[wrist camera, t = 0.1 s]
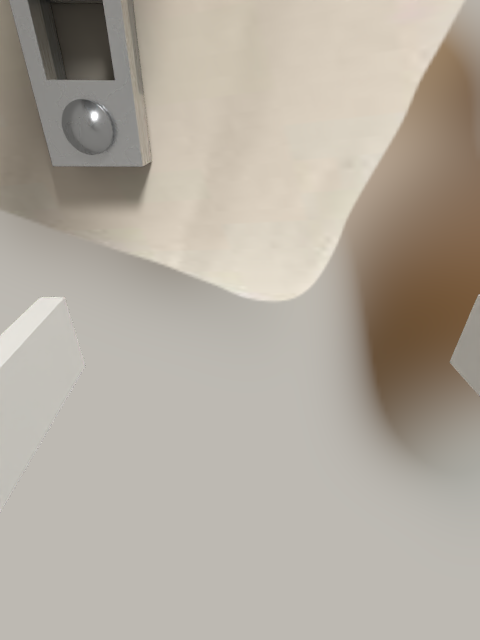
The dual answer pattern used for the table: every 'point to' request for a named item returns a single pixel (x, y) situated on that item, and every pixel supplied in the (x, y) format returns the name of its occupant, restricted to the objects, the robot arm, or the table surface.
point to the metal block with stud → (86, 90)
